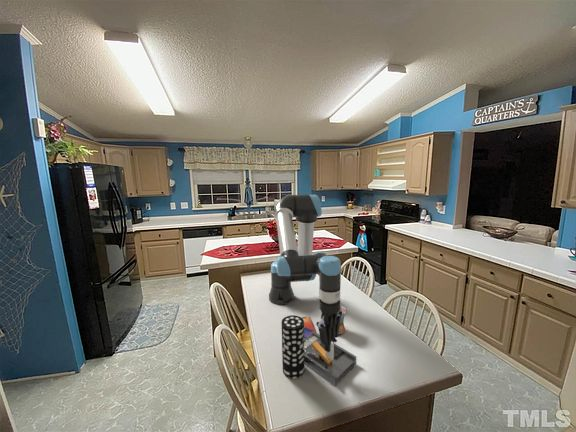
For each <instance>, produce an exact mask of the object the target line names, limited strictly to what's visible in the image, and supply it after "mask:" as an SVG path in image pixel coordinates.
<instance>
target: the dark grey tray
mask: <svg viewBox="0 0 576 432" xmlns="http://www.w3.org/2000/svg"><path fill="white" fill-rule="evenodd" d="M315 341H317V342H318V343H319V345H320V346H321V347H322V348H323V349H324V350H325V344H323V343H321V339H320V334H319V333H317V331H316V332H314V331H312V334H311V335H309V336H308V337H307V338H304V365H306V366H307V367H308V368H310V369H311V370H312V371H314V373H316V374H318V375H319V376H320V377H322V379H325V380H326V381H327V382H329V383H330V384H331V385H333V386H334V387H336V386H337V385H338V384H339V383H340V382H341V381H342V380H343V379H344V378H345V377H346V376H347V375H348V374H349V373H350V371H352V370H353V369H354V367H356V365H357V356H356V355H355V354H353V353H351V352H349V351H348V350H347V349H344V348H342V347H341V346H340V345H338V344H336V343H334V358H333V360H332V362H331V363H330V364H329V365H328V364H327V363H326V362H325V360H324V359H323V358H322V357H321V356H320V355H319V354H318V353H317V352H316V350H315V349H314V348H313V347H312V344H313V343H314V342H315Z"/></svg>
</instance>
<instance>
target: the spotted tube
mask: <svg viewBox="0 0 576 432" xmlns="http://www.w3.org/2000/svg"><path fill="white" fill-rule="evenodd" d="M301 317H302V316H298V315H292V314H291V315H290V314H289V315H286V316H285V317H283V318H282V320H281V354H282V355H281V357H282V358H281V362H282V373H283V375H284V376H285V377H287V378H290V379H298V378H300V377H302V376H303V375H304V373H305V364H304V339H305V338H304V320H303V319H302V318H301Z"/></svg>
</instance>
